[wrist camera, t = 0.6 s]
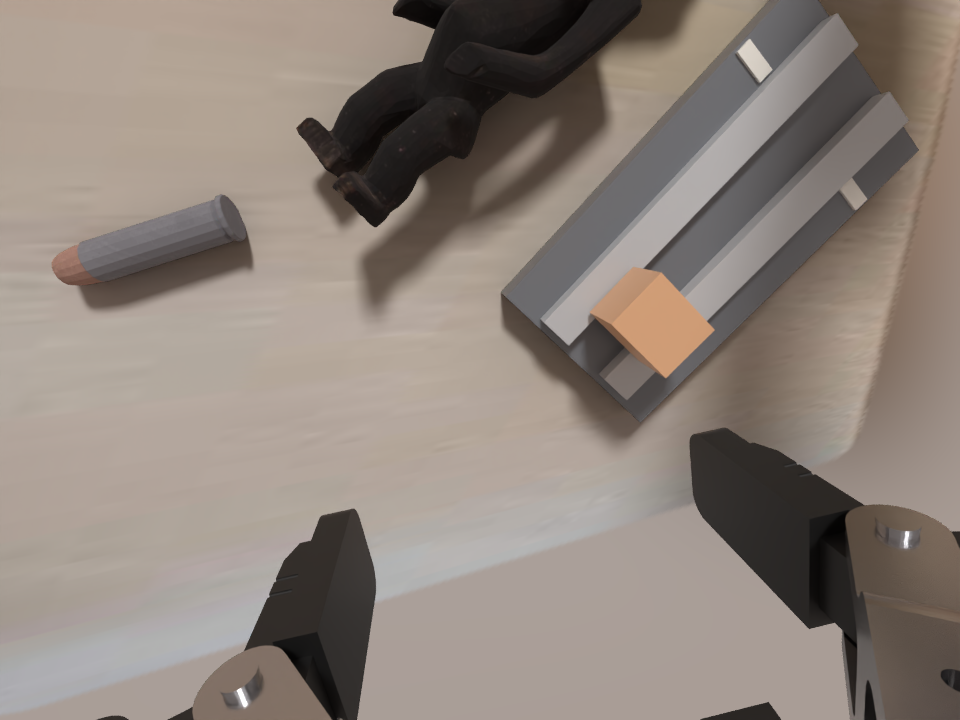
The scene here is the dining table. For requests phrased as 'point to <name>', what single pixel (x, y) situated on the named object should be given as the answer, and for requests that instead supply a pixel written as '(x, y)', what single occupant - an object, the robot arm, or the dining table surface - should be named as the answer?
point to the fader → (652, 320)
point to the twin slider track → (722, 193)
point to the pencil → (151, 243)
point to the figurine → (455, 88)
